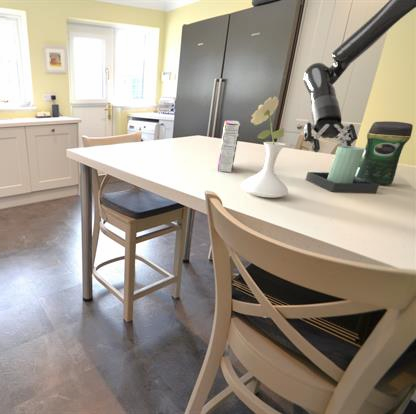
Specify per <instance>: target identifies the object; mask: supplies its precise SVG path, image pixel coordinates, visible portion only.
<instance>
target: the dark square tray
mask: <svg viewBox="0 0 416 414" xmlns="http://www.w3.org/2000/svg"><path fill="white" fill-rule="evenodd" d="M328 175H329V172H324V171H323V172H322V171H320V172H319V171H307V173H306V176H305V181H307V182H309V183H311V184H314V185H316V186H318V187H319V188H323V189H325V190H327V191H328V192H330V193H351V194H352V193H354V194H377V191H378V189H379V188H380V187H379V186H380V184H376V183H373V182H370V181H368V180H365V179H362V178H359V177H356V176H355V177H354V180H353V183H335V182H332V181H330V180H327V178H328Z"/></svg>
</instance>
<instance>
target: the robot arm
mask: <svg viewBox="0 0 416 414" xmlns="http://www.w3.org/2000/svg"><path fill="white" fill-rule="evenodd" d="M414 9H416V0H388V1H387V2H386V3H385V4H384V5H383V6H382V7H381V8H380V9H379V10H378V11H377V12H376V13H375V14H374V15H372V16H371V17H370V18H369V19H367V20H366V22H364V24H363V25H361V27H359V28H358V29H356V31H355V32H353V33H352V34H351V35H350V36H349V37H348V38H347V39H345V41H343V42H342V43H341V44H340V45H338V47H337V48H335V49H334V50H333V52H332V53H331V58H332V60H333V63H332V64H331V66H330V67H329V66H328V65H326V64H325V63H323V62H315V63H314V62H313V63H312V64H311V65H309V66H308V67H307V68H306V70H305V71H304V73H303V83H304V86H305V88H306V90H307V92H308V94H309V96H310V104H311V107H310V108H311V110H310V111H311V118H312V123H311V122H307V123H306V124H305V125H304V127H303V141H304V142H309V143H310V146H311V150H312V151H313V153H318V152H319V151H320V149H321V146H320V145H321V144H320V140H319V138H320V137H321V138H322V139H328V138H329V139H333V140H335V141H337V142H339V143H341V146H352V144H353V143H354V142H355V141H356V140H357V139H358V135H357V132H356V128H355V125H354V124H353V123H351V124H349V125H344V124H342V120H343V119H342V113H341V109H340V108H341V107H340V103H339V100H338V97H337V91H336V88H335V87H334V84H335V83H336V82H337V81H338V80H339V79H340V77H341V76H342V75H343V74H344V73H345V71H346V70H347V69H348V67H350V65H351V64H352V63H353V62H355V60H357V59H358V58H360V57H361V56H362V55H363V54H364V53H365V52H367V51H368V50H369V49H371V48H372V47H373V46H374V45H375V44H376V43H377V42H378V41H379V40H380V39H381V38H382V37H383V36H384V35H385V34H387V32H388V31H389V30H390V29H392V28H393V26H394V25H396V23H398V22H399V21H400V20H401V19H403V18H404V17H405V16H407V14H409V13H410V12H412V11H413V10H414ZM312 131H314V132H315V133H316V134H315V135H312V134H313V133H312Z"/></svg>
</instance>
